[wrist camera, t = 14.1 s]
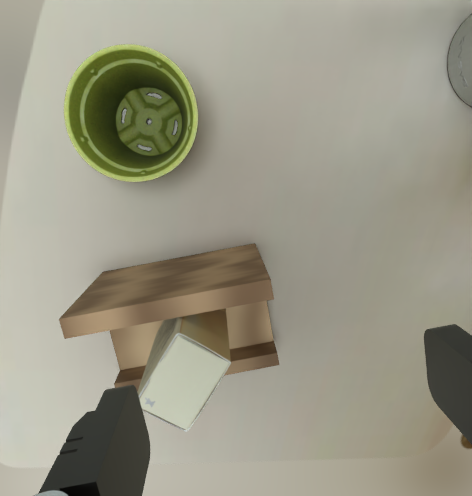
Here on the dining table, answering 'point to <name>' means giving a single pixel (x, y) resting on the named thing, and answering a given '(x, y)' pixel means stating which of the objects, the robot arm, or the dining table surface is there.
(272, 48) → the dining table surface
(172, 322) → the skincare box
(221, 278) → the wooden holder
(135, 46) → the plant pot
